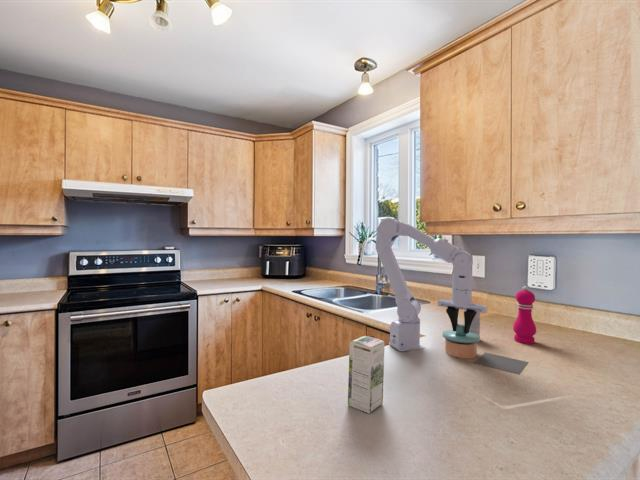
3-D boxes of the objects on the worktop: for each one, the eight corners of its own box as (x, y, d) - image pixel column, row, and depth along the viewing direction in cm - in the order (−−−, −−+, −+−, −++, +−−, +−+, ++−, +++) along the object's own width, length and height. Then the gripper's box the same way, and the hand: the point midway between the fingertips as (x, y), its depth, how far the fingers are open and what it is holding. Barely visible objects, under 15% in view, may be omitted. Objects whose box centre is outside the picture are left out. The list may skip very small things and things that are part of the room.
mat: (473, 364, 100) (473, 362, 100) (485, 353, 109) (485, 352, 109) (519, 376, 92) (519, 374, 92) (528, 363, 101) (528, 362, 101)
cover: (458, 344, 101) (458, 331, 101) (435, 333, 112) (435, 322, 112) (488, 341, 105) (488, 329, 105) (462, 331, 115) (463, 320, 115)
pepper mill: (539, 345, 119) (541, 288, 118) (516, 343, 120) (518, 287, 120) (531, 339, 126) (532, 285, 125) (509, 337, 127) (511, 284, 127)
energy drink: (476, 338, 126) (477, 306, 125) (481, 343, 120) (482, 309, 120) (461, 337, 126) (462, 305, 126) (466, 342, 121) (466, 308, 120)
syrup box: (361, 396, 79) (362, 334, 79) (383, 404, 76) (385, 340, 75) (347, 405, 75) (348, 340, 75) (370, 415, 71) (371, 346, 71)
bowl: (458, 360, 103) (458, 346, 103) (439, 350, 111) (439, 337, 111) (482, 358, 105) (483, 343, 105) (462, 348, 114) (462, 335, 114)
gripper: (490, 290, 106) (489, 333, 106) (444, 285, 116) (443, 325, 116) (483, 293, 101) (482, 338, 101) (435, 287, 110) (434, 329, 111)
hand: (460, 331), depth 108 cm, fingers closed on cover, 3 cm apart
